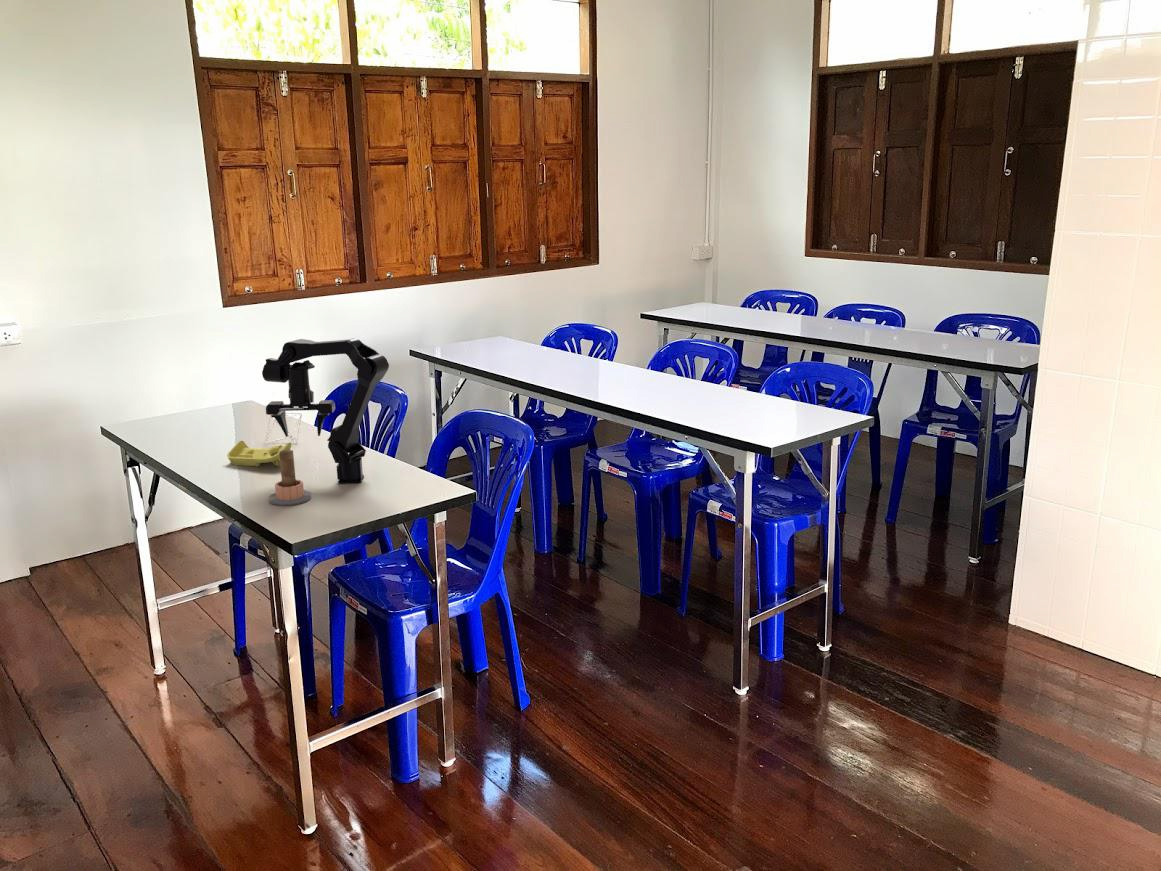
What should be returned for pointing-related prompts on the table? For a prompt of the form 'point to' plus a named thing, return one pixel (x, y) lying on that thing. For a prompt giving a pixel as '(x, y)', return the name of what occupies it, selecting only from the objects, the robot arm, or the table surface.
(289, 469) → the walnut rail post
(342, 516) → the table surface
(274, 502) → the ring
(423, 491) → the table surface
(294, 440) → the geometric polyhedron
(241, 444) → the plastic component
